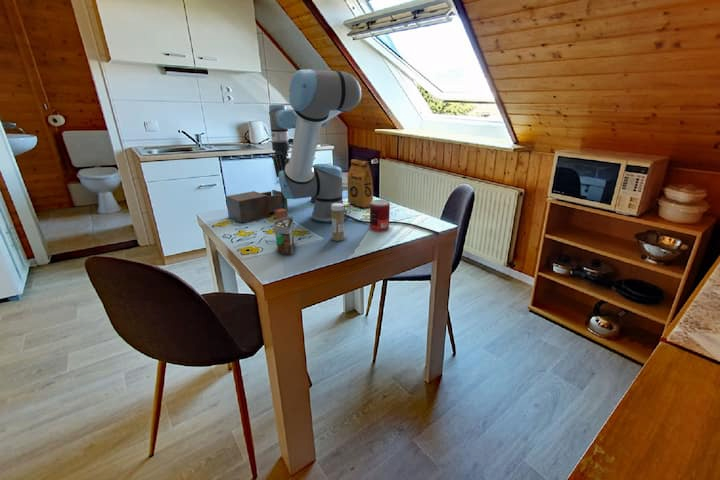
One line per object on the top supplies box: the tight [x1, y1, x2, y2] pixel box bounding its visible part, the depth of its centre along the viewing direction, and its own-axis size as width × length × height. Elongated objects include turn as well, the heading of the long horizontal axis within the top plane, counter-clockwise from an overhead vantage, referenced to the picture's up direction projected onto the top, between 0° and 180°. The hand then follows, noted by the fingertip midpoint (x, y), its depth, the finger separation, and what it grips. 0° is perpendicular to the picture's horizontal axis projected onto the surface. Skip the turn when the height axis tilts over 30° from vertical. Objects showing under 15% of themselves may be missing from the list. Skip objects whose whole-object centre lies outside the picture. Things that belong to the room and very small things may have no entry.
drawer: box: [260, 189, 289, 214], centre depth 161 cm, size 18×10×8 cm, turn 136°
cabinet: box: [225, 190, 271, 224], centre depth 152 cm, size 14×12×10 cm
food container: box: [272, 216, 295, 256], centre depth 117 cm, size 12×6×10 cm, turn 5°
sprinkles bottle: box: [331, 203, 345, 242], centre depth 126 cm, size 5×5×13 cm
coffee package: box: [347, 159, 374, 209], centre depth 169 cm, size 10×12×22 cm
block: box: [274, 208, 289, 220], centre depth 150 cm, size 4×4×4 cm
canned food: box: [369, 199, 391, 232], centre depth 138 cm, size 8×8×11 cm
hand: (284, 192), depth 163 cm, fingers closed
